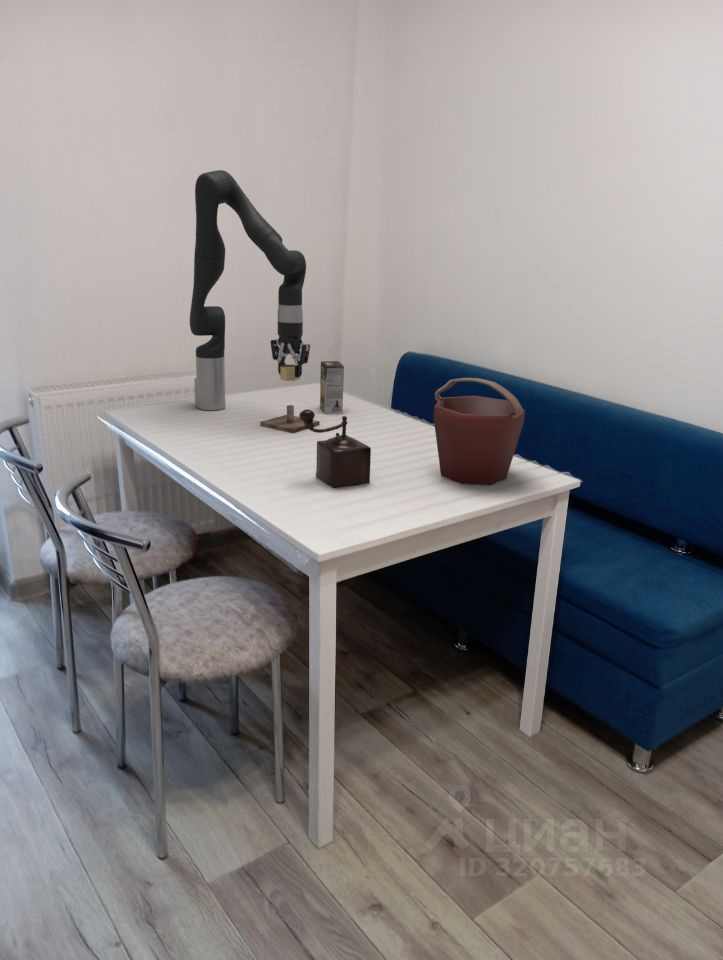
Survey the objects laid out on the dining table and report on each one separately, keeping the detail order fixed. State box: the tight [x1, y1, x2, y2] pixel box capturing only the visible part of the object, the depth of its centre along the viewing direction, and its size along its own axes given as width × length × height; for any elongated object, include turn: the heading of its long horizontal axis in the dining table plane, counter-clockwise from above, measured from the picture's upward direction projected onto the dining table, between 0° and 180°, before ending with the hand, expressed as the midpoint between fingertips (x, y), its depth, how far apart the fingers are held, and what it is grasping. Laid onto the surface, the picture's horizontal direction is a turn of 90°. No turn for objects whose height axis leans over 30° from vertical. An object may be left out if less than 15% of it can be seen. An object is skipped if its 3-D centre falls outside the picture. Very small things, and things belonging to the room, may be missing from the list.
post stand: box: [260, 404, 320, 434], centre depth 249 cm, size 13×13×6 cm
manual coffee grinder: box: [298, 408, 372, 489], centre depth 198 cm, size 16×11×18 cm
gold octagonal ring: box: [279, 363, 301, 382], centre depth 244 cm, size 6×6×4 cm
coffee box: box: [319, 360, 345, 415], centre depth 267 cm, size 9×6×16 cm
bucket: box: [433, 377, 526, 486], centre depth 205 cm, size 24×22×25 cm
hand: (289, 375), depth 244 cm, fingers closed on gold octagonal ring, 5 cm apart
